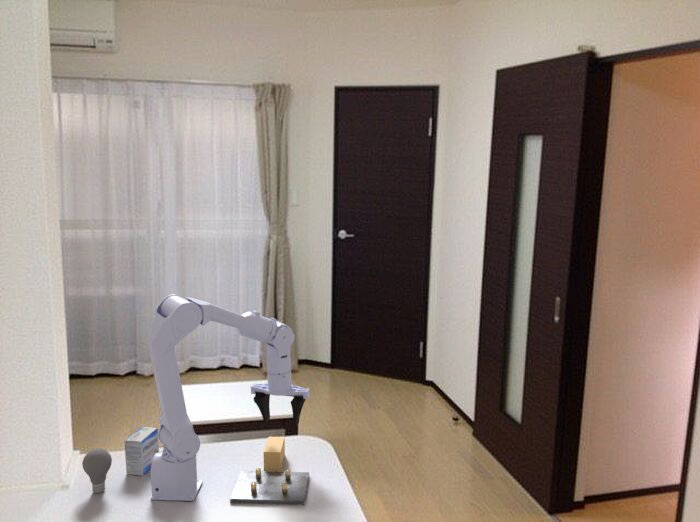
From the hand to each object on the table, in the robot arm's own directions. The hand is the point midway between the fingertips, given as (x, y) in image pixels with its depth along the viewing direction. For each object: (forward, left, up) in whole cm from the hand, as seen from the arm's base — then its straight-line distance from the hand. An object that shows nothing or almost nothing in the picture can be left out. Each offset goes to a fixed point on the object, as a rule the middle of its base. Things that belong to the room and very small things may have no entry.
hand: (281, 422), depth 152 cm
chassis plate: (-1, -14, -10) cm, 17 cm away
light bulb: (-39, -17, -10) cm, 43 cm away
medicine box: (-33, -6, -10) cm, 34 cm away
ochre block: (-2, -2, -10) cm, 10 cm away
